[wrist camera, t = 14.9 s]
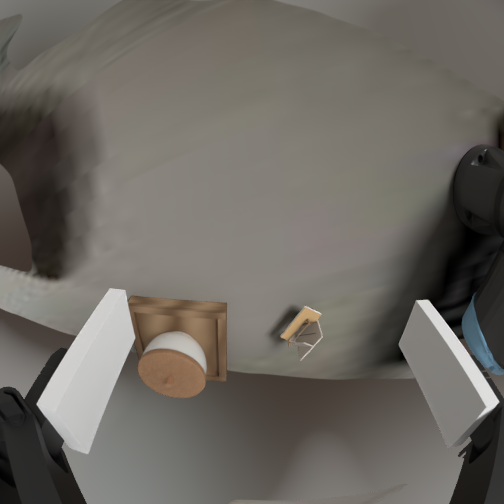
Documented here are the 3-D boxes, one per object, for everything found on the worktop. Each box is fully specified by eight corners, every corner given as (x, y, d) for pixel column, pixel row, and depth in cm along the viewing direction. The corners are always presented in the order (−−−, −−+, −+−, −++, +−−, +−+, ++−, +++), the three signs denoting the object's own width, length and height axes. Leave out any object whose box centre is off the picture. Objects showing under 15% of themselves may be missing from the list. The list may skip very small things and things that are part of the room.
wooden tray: (226, 302, 46) (225, 313, 44) (226, 370, 53) (225, 381, 51) (131, 295, 46) (125, 305, 44) (146, 362, 53) (142, 372, 50)
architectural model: (278, 323, 49) (281, 354, 42) (301, 293, 46) (308, 322, 40) (294, 330, 50) (300, 361, 43) (318, 301, 47) (328, 331, 40)
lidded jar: (137, 336, 47) (120, 375, 39) (180, 309, 45) (167, 350, 36) (179, 372, 51) (170, 412, 42) (223, 351, 48) (219, 394, 40)
